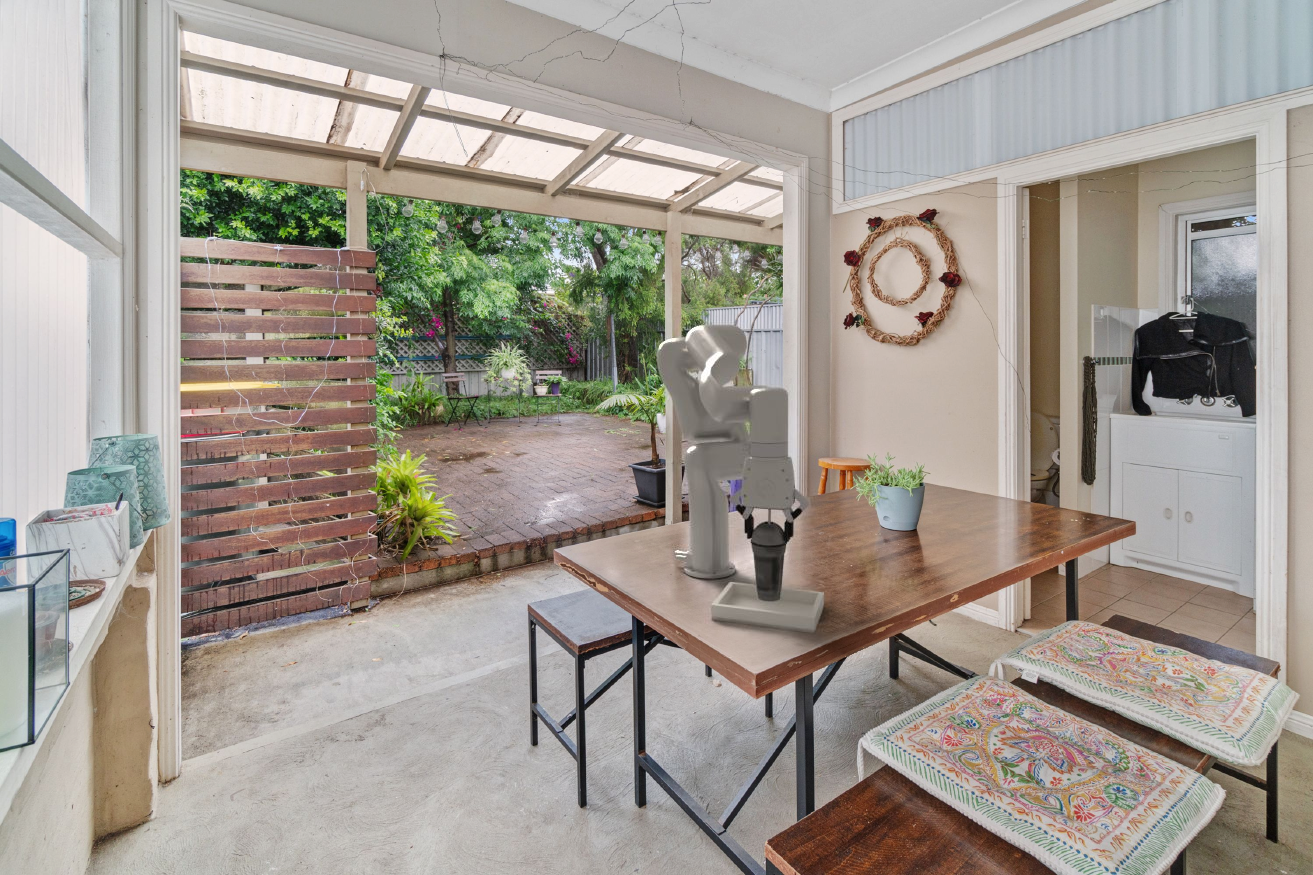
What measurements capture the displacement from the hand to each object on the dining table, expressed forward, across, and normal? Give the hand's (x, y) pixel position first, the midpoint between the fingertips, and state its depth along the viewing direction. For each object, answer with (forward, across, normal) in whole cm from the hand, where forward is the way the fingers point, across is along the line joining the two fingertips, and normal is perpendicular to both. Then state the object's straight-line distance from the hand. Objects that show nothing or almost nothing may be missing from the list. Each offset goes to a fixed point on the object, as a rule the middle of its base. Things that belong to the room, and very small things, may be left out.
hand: (768, 538), depth 126 cm
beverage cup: (+13, 0, 0) cm, 13 cm away
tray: (+16, 0, 0) cm, 16 cm away
